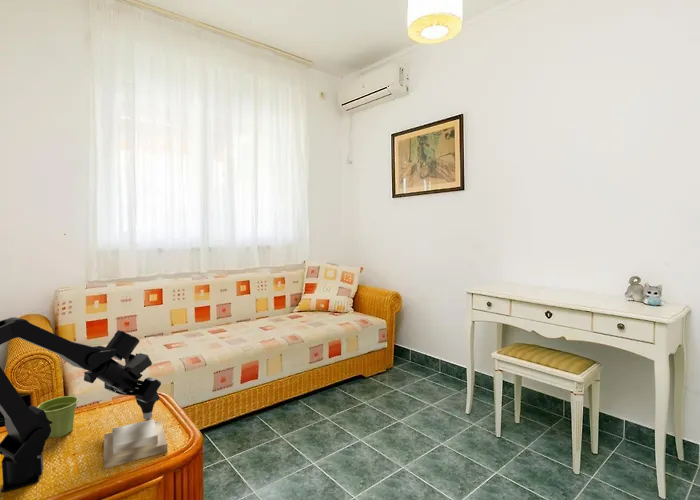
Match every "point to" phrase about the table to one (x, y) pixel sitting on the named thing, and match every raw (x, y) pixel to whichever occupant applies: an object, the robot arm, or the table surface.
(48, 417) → the plant pot
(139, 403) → the light bulb
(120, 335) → the robot arm
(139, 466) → the table surface
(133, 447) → the stepped stand
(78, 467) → the table surface
